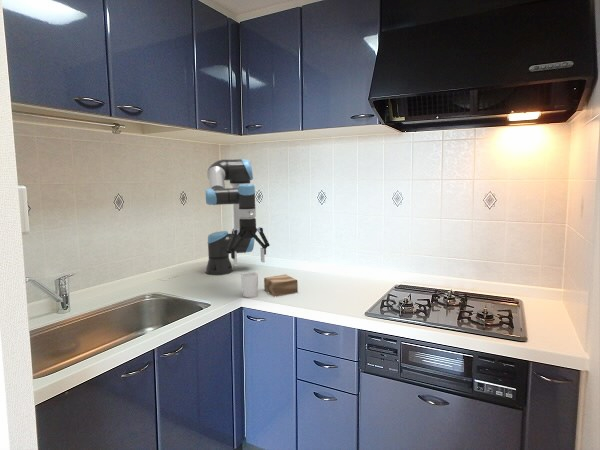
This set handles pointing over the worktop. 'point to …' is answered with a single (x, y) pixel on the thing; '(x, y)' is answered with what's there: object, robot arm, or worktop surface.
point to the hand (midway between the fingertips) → (249, 263)
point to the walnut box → (280, 285)
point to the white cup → (249, 284)
